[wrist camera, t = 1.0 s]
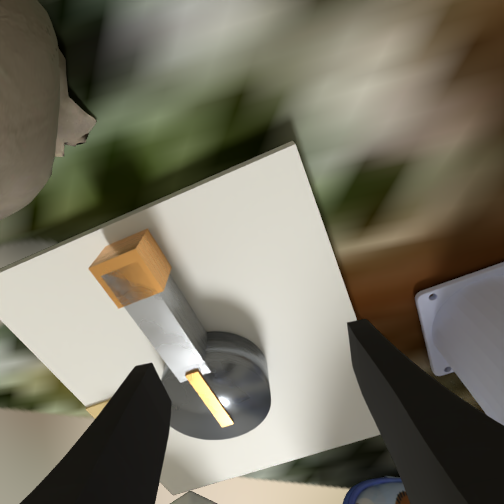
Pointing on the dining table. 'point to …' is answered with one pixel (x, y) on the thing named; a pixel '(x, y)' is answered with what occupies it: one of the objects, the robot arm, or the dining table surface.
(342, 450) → the dining table surface
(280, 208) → the board
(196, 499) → the medicine bottle
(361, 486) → the lunch box
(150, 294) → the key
